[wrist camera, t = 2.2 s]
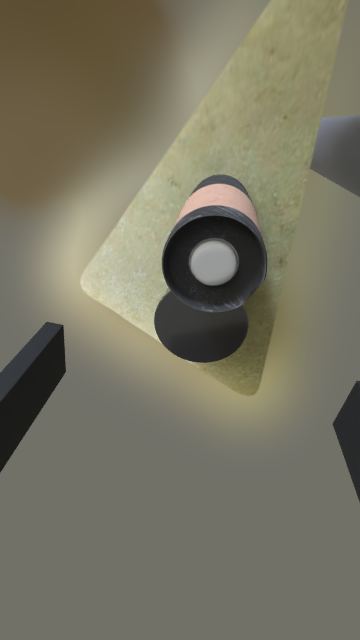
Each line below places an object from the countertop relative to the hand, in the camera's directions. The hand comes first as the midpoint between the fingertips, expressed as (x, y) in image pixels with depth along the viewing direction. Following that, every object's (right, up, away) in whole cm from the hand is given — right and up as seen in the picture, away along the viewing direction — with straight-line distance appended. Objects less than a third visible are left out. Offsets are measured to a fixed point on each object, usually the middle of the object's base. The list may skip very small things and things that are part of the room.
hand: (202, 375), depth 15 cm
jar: (+2, +7, +31) cm, 32 cm away
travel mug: (+4, +17, +25) cm, 31 cm away
